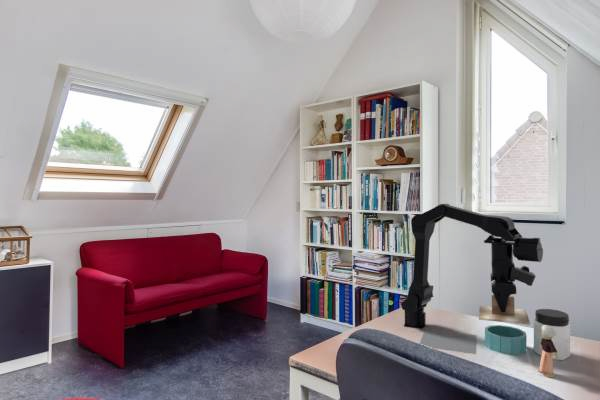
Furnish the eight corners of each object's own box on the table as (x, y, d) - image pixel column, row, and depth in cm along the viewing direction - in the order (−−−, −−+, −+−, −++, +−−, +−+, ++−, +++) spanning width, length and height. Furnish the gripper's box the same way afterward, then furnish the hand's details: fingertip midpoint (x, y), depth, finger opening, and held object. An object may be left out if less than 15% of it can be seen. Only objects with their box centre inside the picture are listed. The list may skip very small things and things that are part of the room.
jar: (559, 363, 110) (559, 319, 110) (529, 353, 117) (529, 312, 116) (574, 355, 115) (574, 313, 114) (544, 346, 122) (544, 306, 121)
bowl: (485, 352, 118) (485, 335, 118) (484, 338, 128) (484, 323, 128) (527, 357, 113) (527, 340, 113) (524, 343, 123) (524, 327, 123)
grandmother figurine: (530, 368, 107) (530, 321, 107) (544, 367, 107) (544, 320, 107) (551, 382, 99) (551, 331, 99) (565, 381, 100) (565, 330, 99)
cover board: (479, 319, 117) (478, 300, 117) (479, 307, 129) (479, 290, 129) (530, 324, 112) (529, 304, 112) (525, 311, 124) (525, 293, 124)
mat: (418, 347, 122) (418, 345, 122) (425, 330, 137) (425, 328, 137) (475, 355, 116) (475, 353, 116) (476, 336, 130) (476, 335, 130)
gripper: (536, 265, 108) (537, 322, 109) (529, 255, 125) (530, 304, 126) (491, 263, 113) (492, 318, 113) (490, 253, 130) (491, 301, 130)
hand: (502, 310), depth 120 cm, fingers closed on cover board, 3 cm apart
